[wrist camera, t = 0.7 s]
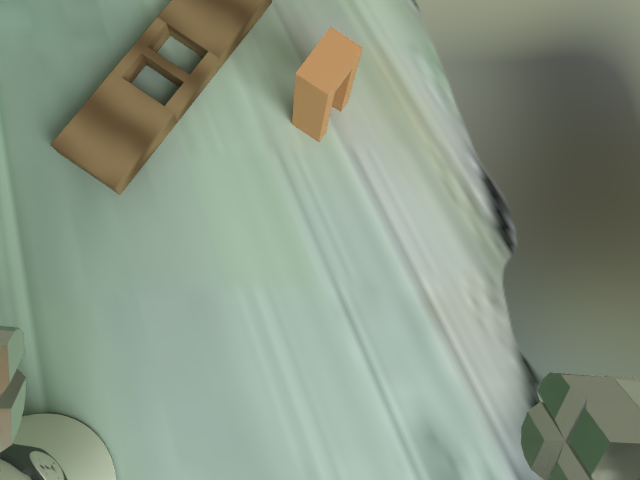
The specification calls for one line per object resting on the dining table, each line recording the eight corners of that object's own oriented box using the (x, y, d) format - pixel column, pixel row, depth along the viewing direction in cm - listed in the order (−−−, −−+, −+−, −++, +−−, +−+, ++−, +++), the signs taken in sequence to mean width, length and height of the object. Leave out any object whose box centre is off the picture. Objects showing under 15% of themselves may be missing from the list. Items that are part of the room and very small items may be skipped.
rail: (120, 194, 63) (113, 188, 61) (59, 153, 63) (50, 144, 61) (271, 2, 69) (271, -11, 66) (214, -35, 69) (212, -49, 67)
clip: (319, 141, 66) (328, 94, 54) (292, 124, 66) (295, 73, 54) (347, 102, 67) (362, 47, 55) (321, 84, 67) (330, 26, 55)
